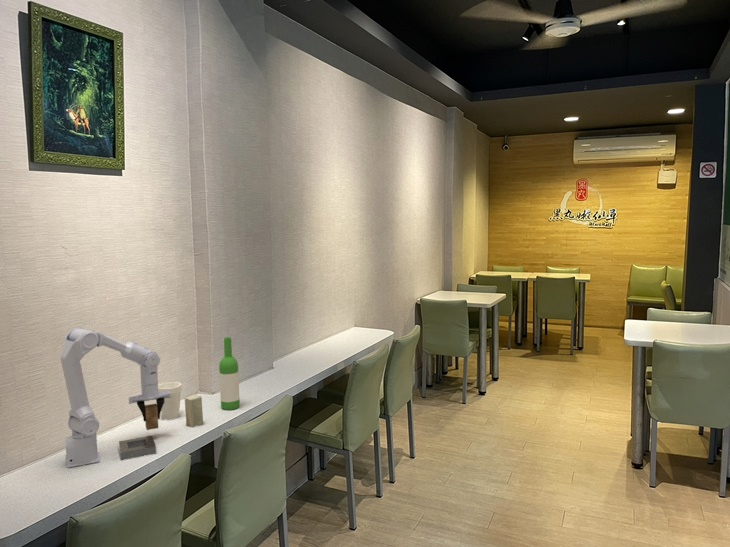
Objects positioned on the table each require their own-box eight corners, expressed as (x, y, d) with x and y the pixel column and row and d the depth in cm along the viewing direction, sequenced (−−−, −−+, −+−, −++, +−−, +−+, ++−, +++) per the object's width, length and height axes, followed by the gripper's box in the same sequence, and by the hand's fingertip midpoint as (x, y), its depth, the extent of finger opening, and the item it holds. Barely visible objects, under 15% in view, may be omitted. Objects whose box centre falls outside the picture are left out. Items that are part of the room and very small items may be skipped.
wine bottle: (222, 411, 232) (219, 340, 229) (219, 406, 239) (216, 336, 236) (241, 409, 235) (238, 338, 232) (238, 403, 242) (235, 335, 239)
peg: (146, 430, 203) (145, 408, 202) (145, 426, 206) (144, 405, 205) (158, 428, 204) (157, 406, 204) (157, 424, 208) (156, 403, 207)
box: (197, 421, 222) (195, 394, 220) (203, 423, 219) (202, 396, 218) (185, 425, 217) (184, 397, 216) (191, 427, 215) (190, 399, 214)
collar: (121, 460, 187) (120, 452, 186) (119, 448, 197) (118, 441, 196) (156, 453, 192) (155, 446, 191) (152, 442, 201) (152, 435, 201)
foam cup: (173, 411, 234) (172, 380, 233) (187, 415, 229) (186, 384, 227) (153, 417, 226) (151, 386, 225) (167, 422, 221) (165, 390, 220)
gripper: (128, 389, 197) (131, 426, 198) (172, 383, 203) (173, 419, 205) (127, 384, 203) (129, 420, 204) (169, 378, 210) (171, 413, 211)
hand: (151, 419), depth 205 cm, fingers closed on peg, 4 cm apart
